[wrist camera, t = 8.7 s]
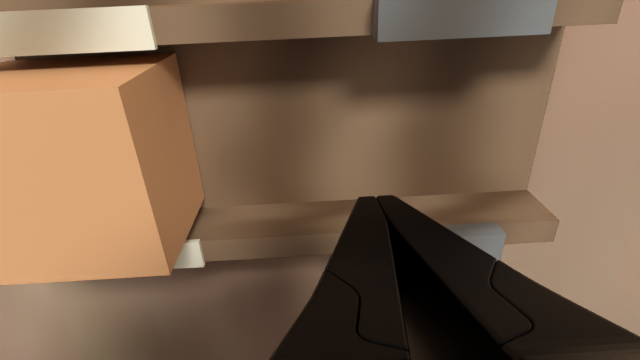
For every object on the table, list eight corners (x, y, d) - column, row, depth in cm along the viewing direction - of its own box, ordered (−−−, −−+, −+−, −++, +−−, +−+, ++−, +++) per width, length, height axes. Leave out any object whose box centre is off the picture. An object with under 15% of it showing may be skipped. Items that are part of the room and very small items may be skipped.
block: (175, 53, 14) (117, 86, 10) (204, 196, 17) (169, 274, 12) (7, 60, 14) (-130, 99, 10) (64, 204, 17) (-22, 286, 12)
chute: (560, -27, 14) (654, -29, 11) (510, 205, 19) (562, 262, 15) (11, -3, 14) (-97, 4, 10) (96, 228, 19) (43, 292, 15)
